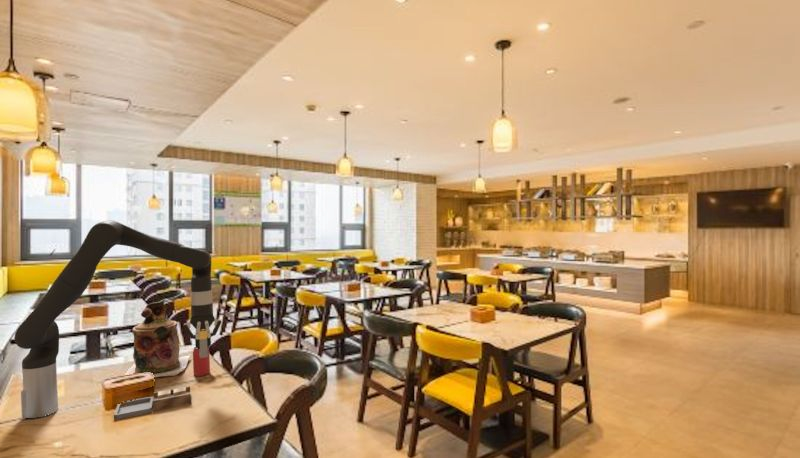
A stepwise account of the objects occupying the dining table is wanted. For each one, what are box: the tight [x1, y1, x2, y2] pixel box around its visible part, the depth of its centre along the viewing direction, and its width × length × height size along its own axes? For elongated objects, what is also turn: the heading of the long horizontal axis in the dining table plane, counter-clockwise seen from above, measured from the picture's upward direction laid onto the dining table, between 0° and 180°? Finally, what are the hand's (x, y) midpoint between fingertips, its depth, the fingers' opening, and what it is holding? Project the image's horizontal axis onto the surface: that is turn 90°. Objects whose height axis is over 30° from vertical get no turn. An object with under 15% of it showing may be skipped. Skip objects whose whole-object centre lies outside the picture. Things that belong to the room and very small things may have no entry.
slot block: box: [152, 385, 192, 412], centre depth 157 cm, size 12×9×4 cm
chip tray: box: [113, 395, 154, 421], centre depth 151 cm, size 11×12×2 cm
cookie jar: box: [124, 299, 192, 378], centre depth 193 cm, size 25×25×32 cm
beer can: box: [192, 346, 211, 377], centre depth 186 cm, size 7×7×12 cm
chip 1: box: [158, 389, 171, 399], centre depth 155 cm, size 4×4×2 cm
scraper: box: [199, 329, 208, 358], centre depth 161 cm, size 3×4×10 cm, turn 28°
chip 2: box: [173, 386, 186, 396], centre depth 158 cm, size 4×4×2 cm
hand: (203, 347), depth 161 cm, fingers closed on scraper, 2 cm apart
